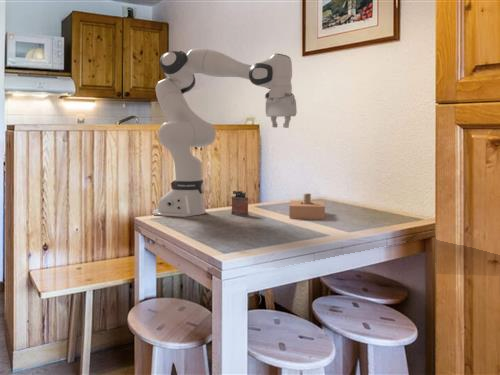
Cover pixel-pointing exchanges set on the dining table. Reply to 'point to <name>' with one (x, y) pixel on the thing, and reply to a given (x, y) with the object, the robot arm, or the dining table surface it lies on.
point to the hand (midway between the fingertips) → (280, 127)
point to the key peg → (306, 198)
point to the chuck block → (307, 210)
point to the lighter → (239, 203)
